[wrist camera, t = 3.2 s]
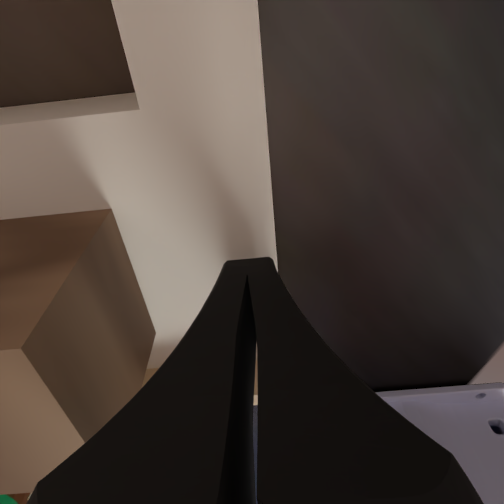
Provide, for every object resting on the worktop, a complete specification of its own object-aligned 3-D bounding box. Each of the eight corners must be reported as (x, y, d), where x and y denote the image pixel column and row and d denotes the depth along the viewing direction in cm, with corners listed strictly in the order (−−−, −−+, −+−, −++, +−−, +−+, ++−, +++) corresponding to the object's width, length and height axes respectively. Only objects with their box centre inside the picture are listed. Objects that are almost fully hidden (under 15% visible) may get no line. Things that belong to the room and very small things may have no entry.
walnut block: (111, 208, 10) (20, 348, 6) (156, 332, 13) (115, 486, 9) (-61, 225, 10) (-264, 373, 6) (20, 344, 13) (-83, 500, 9)
